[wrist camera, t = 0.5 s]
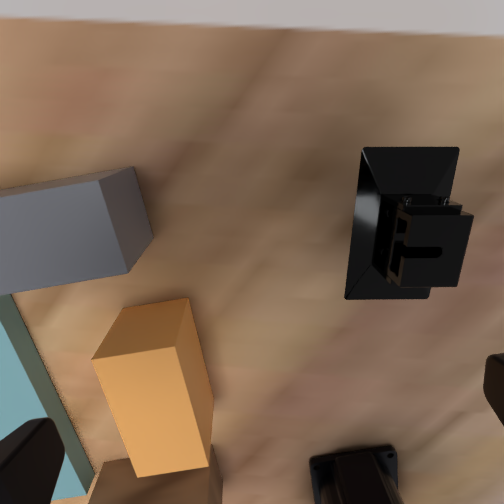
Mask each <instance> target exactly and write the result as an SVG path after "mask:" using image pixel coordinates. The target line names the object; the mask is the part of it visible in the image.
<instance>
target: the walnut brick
mask: <svg viewBox="0 0 504 504" xmlns="http://www.w3.org/2000/svg"><path fill="white" fill-rule="evenodd" d="M222 488H223V481H222V477H221V474H220V471H219V467H218V464H217V460H216V457H215V454H214V450H213V447H212V444H211V445H210V458H209V467H203V468H196V469H190V470H183V471H177V472H171V473H164V474H158V475H151V476H145V477H139V478H137V475H136V473H135V470H134V468H133V465H132V462H131V460H130V458H126V459H120V460H114V461H108V462H104V464H103V466H102V469H101V472H100V474H99V477H98V479H97V482H96V484H95V487H94V490H93V492H92V495H91V497H90V500H89V503H88V504H222Z"/></svg>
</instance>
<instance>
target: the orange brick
mask: <svg viewBox="0 0 504 504" xmlns="http://www.w3.org/2000/svg"><path fill="white" fill-rule="evenodd" d="M91 361H92V363H93V366H94V368H95V371H96V373H97V376H98V379H99V381H100V384H101V386H102V389H103V391H104V394H105V396H106V399H107V401H108V404H109V407H110V409H111V412H112V414H113V417H114V419H115V422H116V424H117V427H118V429H119V432H120V435H121V437H122V440H123V442H124V445H125V447H126V450H127V452H128V455H129V457H130V460H131V462H132V465H133V468H134V470H135V473H136V475H137V478H139V477H145V476H151V475H158V474H164V473H171V472H177V471H183V470H190V469H196V468H203V467H209V458H210V445H211V432H212V419H213V406H214V398H213V394H212V390H211V386H210V382H209V378H208V374H207V370H206V366H205V362H204V358H203V354H202V350H201V346H200V342H199V338H198V334H197V330H196V326H195V322H194V319H193V315H192V311H191V307H190V303H189V299H188V298H182V299H176V300H170V301H164V302H158V303H152V304H146V305H139V306H133V307H127V308H123V309H122V311H121V312H120V314H119V316H118V317H117V319H116V320H115V322H114V324H113V325H112V327H111V329H110V330H109V332H108V333H107V335H106V337H105V338H104V340H103V342H102V343H101V345H100V346H99V348H98V350H97V351H96V353H95V355H94V356H93V358H92V359H91Z"/></svg>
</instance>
